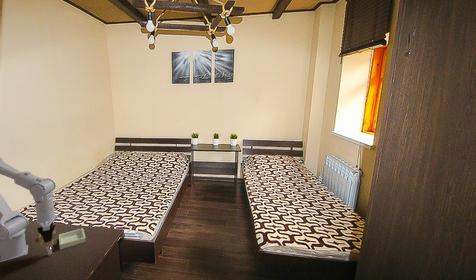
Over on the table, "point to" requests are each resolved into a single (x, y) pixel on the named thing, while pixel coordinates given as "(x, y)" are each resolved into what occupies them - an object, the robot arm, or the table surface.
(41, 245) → the tan open box
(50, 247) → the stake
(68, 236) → the tray
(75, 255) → the table surface
